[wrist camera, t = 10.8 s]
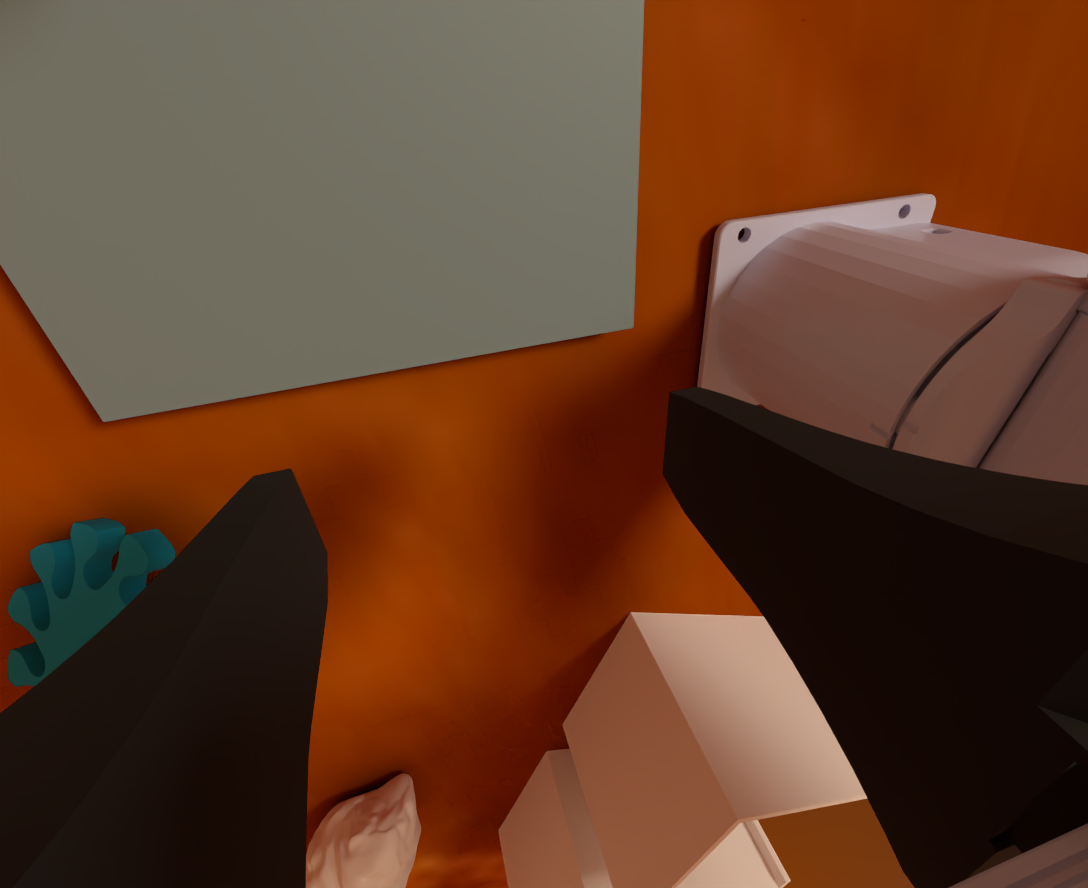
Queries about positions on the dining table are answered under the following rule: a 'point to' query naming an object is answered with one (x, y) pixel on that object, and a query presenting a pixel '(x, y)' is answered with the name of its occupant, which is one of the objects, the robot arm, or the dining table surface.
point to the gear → (79, 591)
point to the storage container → (677, 764)
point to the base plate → (314, 185)
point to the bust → (367, 840)
